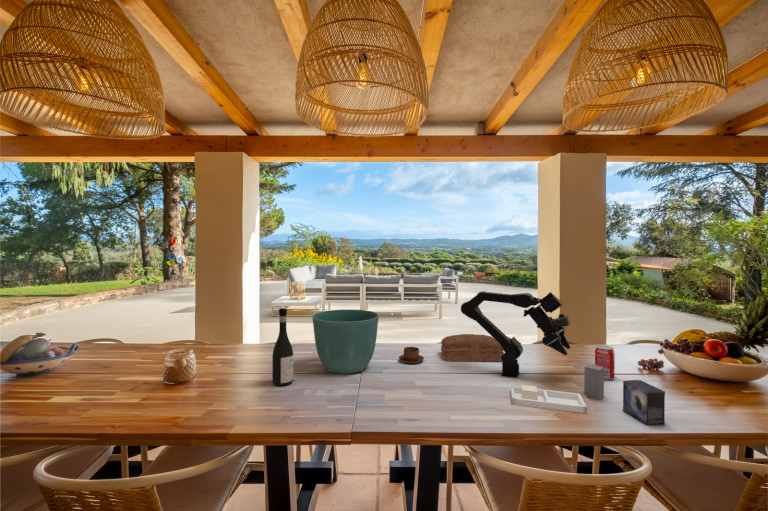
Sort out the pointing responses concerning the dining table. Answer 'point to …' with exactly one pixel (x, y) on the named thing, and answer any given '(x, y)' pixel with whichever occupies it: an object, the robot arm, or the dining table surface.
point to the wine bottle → (282, 355)
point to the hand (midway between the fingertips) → (568, 351)
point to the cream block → (529, 392)
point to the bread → (471, 348)
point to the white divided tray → (551, 400)
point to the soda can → (605, 360)
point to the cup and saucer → (411, 355)
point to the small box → (644, 402)
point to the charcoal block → (594, 382)
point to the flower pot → (345, 339)
